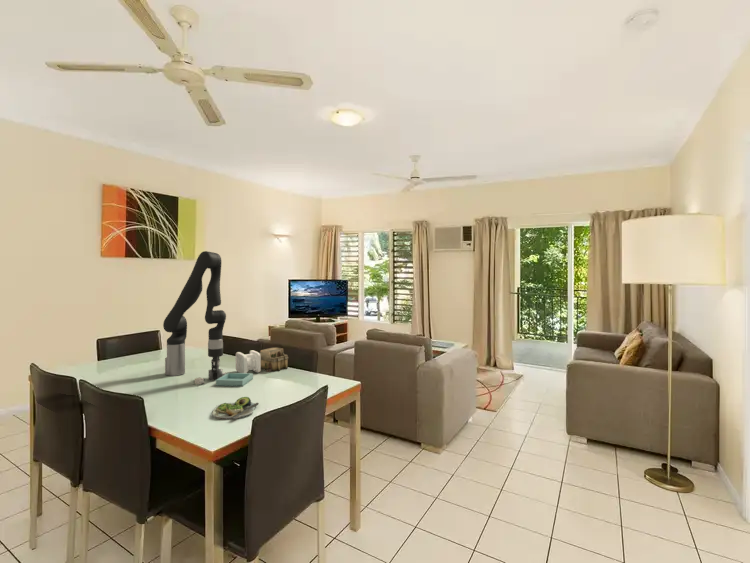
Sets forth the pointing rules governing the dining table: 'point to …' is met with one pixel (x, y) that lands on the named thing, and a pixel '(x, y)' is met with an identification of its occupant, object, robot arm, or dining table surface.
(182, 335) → the robot arm
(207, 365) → the dining table surface
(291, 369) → the dining table surface
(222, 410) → the salad plate
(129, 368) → the dining table surface
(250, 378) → the tray
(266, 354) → the miniature house
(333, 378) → the dining table surface
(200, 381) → the small plug
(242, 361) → the cable organizer
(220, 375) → the connector
